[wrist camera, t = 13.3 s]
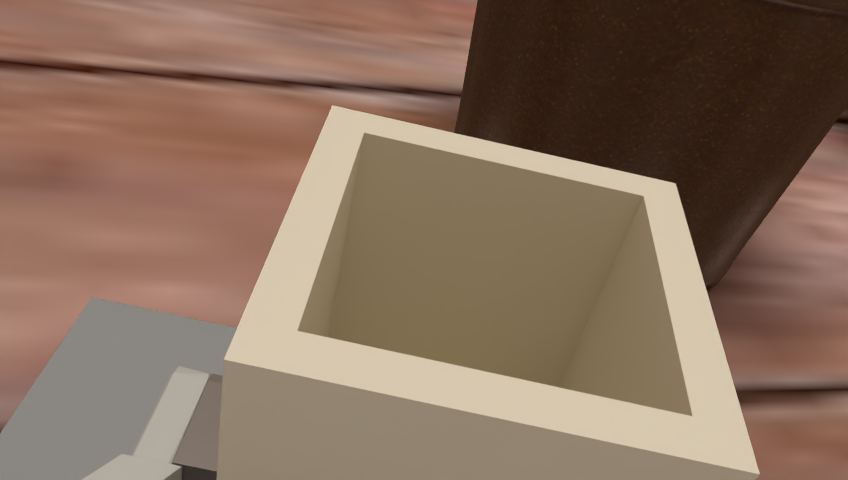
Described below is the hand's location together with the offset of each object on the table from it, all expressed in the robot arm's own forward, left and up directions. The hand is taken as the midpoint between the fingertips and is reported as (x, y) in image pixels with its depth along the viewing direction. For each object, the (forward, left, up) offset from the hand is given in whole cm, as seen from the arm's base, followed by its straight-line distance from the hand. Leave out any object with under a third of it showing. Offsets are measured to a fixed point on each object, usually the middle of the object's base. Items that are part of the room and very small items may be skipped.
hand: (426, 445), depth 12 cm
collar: (0, -1, -5) cm, 6 cm away
